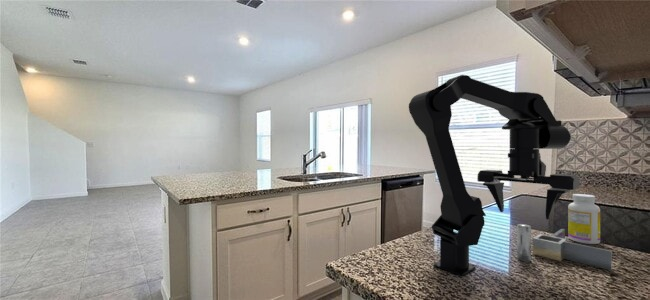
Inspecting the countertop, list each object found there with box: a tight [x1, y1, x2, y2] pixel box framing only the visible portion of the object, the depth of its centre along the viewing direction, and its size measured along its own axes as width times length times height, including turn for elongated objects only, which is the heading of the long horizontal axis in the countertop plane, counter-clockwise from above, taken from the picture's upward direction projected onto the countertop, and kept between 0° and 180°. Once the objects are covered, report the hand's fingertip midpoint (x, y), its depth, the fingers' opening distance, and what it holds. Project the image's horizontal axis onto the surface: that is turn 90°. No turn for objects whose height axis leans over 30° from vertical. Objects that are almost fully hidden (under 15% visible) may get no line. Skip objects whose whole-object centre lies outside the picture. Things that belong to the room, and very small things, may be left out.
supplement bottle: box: [567, 193, 601, 245], centre depth 79 cm, size 7×7×13 cm
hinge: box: [532, 228, 613, 271], centre depth 69 cm, size 15×13×4 cm
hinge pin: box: [516, 223, 532, 263], centre depth 66 cm, size 3×3×8 cm
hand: (523, 215), depth 66 cm, fingers open, 9 cm apart
